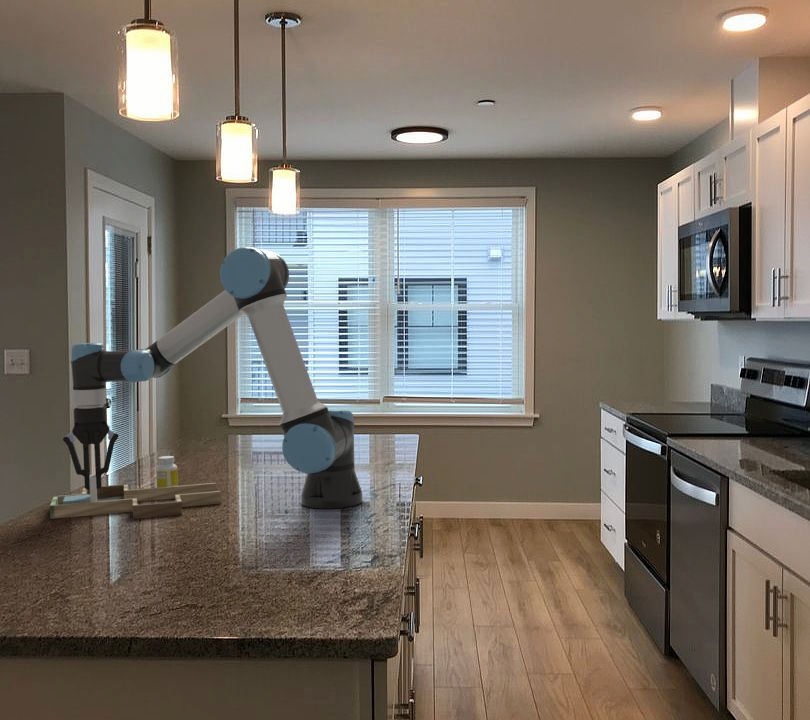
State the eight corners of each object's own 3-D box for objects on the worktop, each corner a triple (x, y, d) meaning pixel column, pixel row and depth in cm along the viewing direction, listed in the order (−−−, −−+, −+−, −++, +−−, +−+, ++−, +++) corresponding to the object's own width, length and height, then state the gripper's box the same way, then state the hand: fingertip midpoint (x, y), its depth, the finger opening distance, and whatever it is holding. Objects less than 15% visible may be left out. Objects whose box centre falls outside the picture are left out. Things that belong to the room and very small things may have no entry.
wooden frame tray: (224, 510, 200) (224, 498, 200) (47, 526, 187) (46, 513, 187) (213, 488, 226) (212, 477, 226) (56, 501, 214) (56, 489, 214)
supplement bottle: (177, 490, 224) (176, 454, 224) (179, 494, 219) (178, 457, 218) (156, 492, 222) (155, 456, 222) (158, 496, 217) (156, 459, 217)
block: (90, 513, 201) (89, 499, 200) (63, 515, 199) (63, 501, 199) (91, 508, 206) (90, 494, 206) (65, 510, 204) (64, 496, 204)
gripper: (118, 403, 208) (122, 496, 209) (62, 406, 204) (66, 501, 205) (118, 406, 201) (121, 502, 202) (59, 409, 196) (64, 507, 198)
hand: (93, 501), depth 203 cm, fingers closed
